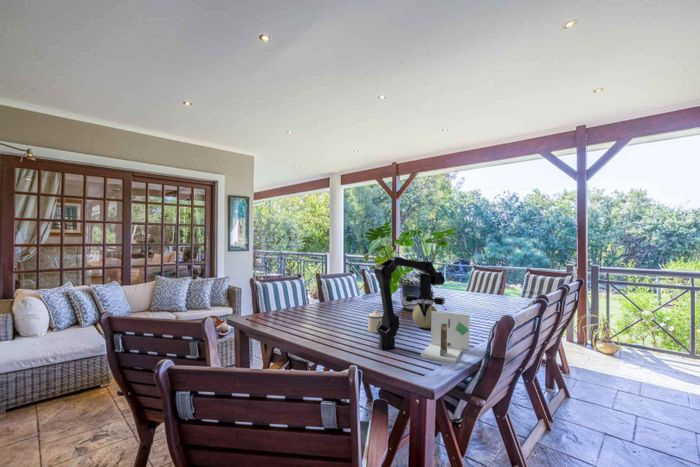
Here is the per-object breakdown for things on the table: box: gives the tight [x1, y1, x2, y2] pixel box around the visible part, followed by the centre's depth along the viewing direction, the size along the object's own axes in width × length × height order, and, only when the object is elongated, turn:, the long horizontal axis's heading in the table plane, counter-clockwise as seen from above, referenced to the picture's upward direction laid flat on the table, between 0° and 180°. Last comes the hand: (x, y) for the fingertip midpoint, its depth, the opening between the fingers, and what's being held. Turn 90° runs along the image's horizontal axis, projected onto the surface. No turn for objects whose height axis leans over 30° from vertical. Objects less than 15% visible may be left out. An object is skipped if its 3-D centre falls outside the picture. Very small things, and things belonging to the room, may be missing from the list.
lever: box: [441, 323, 447, 353], centre depth 154 cm, size 2×3×12 cm, turn 153°
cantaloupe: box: [412, 302, 438, 329], centre depth 204 cm, size 15×15×15 cm
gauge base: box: [420, 311, 470, 364], centre depth 158 cm, size 18×19×17 cm
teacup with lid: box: [367, 309, 384, 334], centre depth 196 cm, size 12×9×12 cm
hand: (424, 316), depth 175 cm, fingers closed
